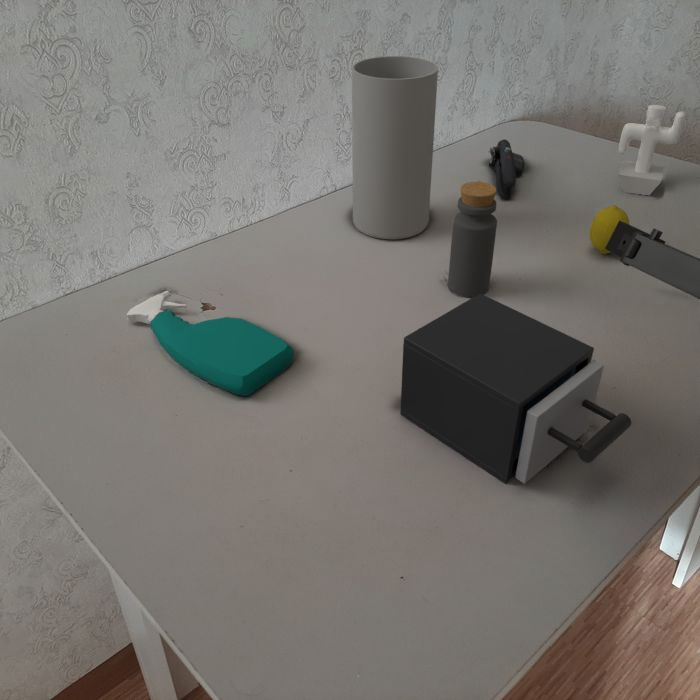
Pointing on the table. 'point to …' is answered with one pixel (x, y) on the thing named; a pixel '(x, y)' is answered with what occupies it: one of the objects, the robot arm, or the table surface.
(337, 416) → the table surface
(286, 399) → the table surface
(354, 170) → the cylinder vase
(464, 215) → the bottle
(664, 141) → the figurine
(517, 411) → the drawer cabinet
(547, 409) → the compartment
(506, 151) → the can opener
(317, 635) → the table surface
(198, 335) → the spray bottle
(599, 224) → the lemon
